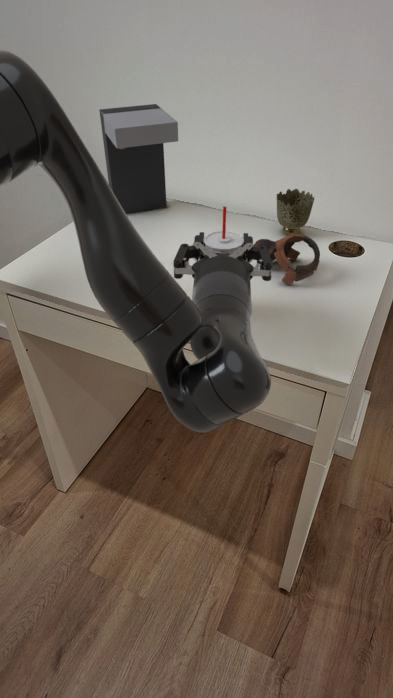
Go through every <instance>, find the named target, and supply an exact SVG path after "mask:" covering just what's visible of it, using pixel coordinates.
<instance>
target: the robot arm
mask: <svg viewBox="0 0 393 698" xmlns="http://www.w3.org/2000/svg"><path fill="white" fill-rule="evenodd" d="M37 166H39V167H40V168H41V169H42V170H43V171H44V173H46V174H47V175H48V176H49V178H50V179H51V180H52V181H53V183H54V184H55V185H56V186H57V188H58V190H59V192H60V193H61V195H62V196H63V198H64V200H65V202H66V205H67V206H68V209H69V212H70V215H71V218H72V222H73V225H74V228H75V232H76V236H77V241H78V245H79V251H80V255H81V256H80V257H81V260H82V265H83V268H84V273H85V277H86V279H87V283H88V285H89V287H90V290H91V292H92V294H93V296H94V298H95V300H96V301H97V302H98V304H99V306H100V307H101V308H102V309H103V311H104V312H105V314H107V316H108V317H109V318H110V319H111V320H112V321H113V323H115V325H116V326H117V327H118V328H119V329H120V330H121V332H122V333H123V334H124V335H125V336H126V338H128V340H129V341H130V342H131V343H132V344H133V345H134V347H135V348H137V350H138V351H139V352H140V353H141V355H142V357H143V359H144V361H145V363H146V365H147V367H148V368H149V371H150V373H151V375H152V377H153V378H154V380H155V382H156V384H157V386H158V388H159V389H160V392H161V394H162V397H163V398H164V401H165V403H166V405H167V407H168V410H169V411H170V412H171V414H172V416H173V417H174V418H175V419H176V420H177V421H178V423H179V424H180V425H181V426H184V427H185V428H187V429H188V430H190V431H192V432H195V433H199V434H208V433H211V432H214V431H216V430H217V429H219V428H221V427H223V426H224V425H227V424H229V423H230V422H232V421H233V420H235V419H237V418H239V417H241V416H243V415H245V414H247V413H249V412H250V411H252V410H254V409H256V408H258V407H259V406H260V405H262V404H263V402H265V400H266V399H267V397H268V395H269V393H270V391H271V385H272V376H271V373H270V371H269V368H268V366H267V364H266V363H265V360H264V359H263V358H262V356H261V354H260V353H259V350H258V349H257V345H256V343H255V341H254V338H253V336H252V328H251V327H252V326H251V325H252V324H251V316H252V310H253V309H252V306H253V304H252V303H253V302H252V286H251V285H252V284H251V280H252V279H253V277H261V278H262V280H263V281H264V282H270V281H271V280H272V274H273V265H274V264H273V262H272V261H271V258H270V255H269V253H268V250H267V248H266V246H264V245H260V246H258V248H257V247H254V244H255V243H254V238H253V236H252V235H249V233H248V232H243V236H242V237H243V238H244V244H243V247H239V248H238V249H237V250H236V251H235V252H234V253H225V254H222V253H213V252H212V251H211V250H210V249H209V248H208V247H207V246H205V247H204V243H203V239H204V237H205V232H204V231H199V234H196V235H195V236H194V241H193V243H192V245H190V244H188V243H182V244H180V246H179V248H178V250H177V252H176V255H175V257H174V259H173V261H172V265H173V276H172V274H170V272H169V271H168V270H167V268H166V267H165V266H164V264H163V263H162V262H161V260H159V259H158V257H157V256H156V255H155V254H154V252H153V251H152V250H151V248H150V247H149V246H148V245H147V243H146V242H145V240H144V239H143V237H142V236H141V234H140V233H139V232H138V229H136V227H135V226H134V224H133V223H132V220H131V219H130V218H129V216H128V215H127V214H126V213H125V211H124V210H123V208H122V206H121V205H120V203H119V201H118V200H117V198H116V196H115V195H114V193H113V191H112V189H111V188H110V186H109V182H108V180H107V179H106V177H105V176H104V174H103V172H102V171H101V169H100V167H99V165H98V164H97V162H96V161H95V159H94V158H93V156H92V154H91V152H90V151H89V149H88V148H87V146H86V145H85V142H83V139H82V138H81V137H80V134H79V132H77V130H76V128H75V126H74V125H73V123H72V122H71V120H70V119H69V117H68V116H67V114H66V112H65V111H64V108H63V107H62V106H61V104H60V103H59V101H58V99H57V97H56V96H55V95H54V94H53V92H52V91H51V89H50V88H49V86H48V85H47V84H46V82H45V81H44V80H43V79H42V77H41V76H40V75H39V74H38V73H37V72H36V71H35V70H34V68H33V67H32V66H30V64H29V63H27V62H26V61H25V60H24V59H23V58H22V57H20V56H19V55H17V54H15V53H13V52H11V51H9V50H3V49H0V188H2V187H4V186H6V185H7V184H9V183H10V182H12V181H13V180H15V179H17V178H18V177H20V176H21V175H23V174H25V173H26V172H29V170H31V169H34V168H35V167H37ZM190 259H193V261H194V263H193V264H192V265H191V264H190V262H189V261H190ZM253 260H254V261H256V265H255V266H253V265H252V262H253ZM184 275H189V276H191V277H192V278H193V285H192V295H191V296H192V297H189V296H188V295H187V293H186V292H185V290H184V289H183V288H182V287H181V285H180V284H179V283H178V282H177V280H179V279H182V278H183V277H184ZM176 279H177V280H176ZM188 343H189V345H190V349H191V351H192V354H193V355H194V357H195V359H197V360H195V361H194V362H193V363H190V362H189V361H188V360H187V358H186V356H185V352H184V347H186V346H187V345H188Z"/></svg>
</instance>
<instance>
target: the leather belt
mask: <svg viewBox="0 0 393 698" xmlns="http://www.w3.org/2000/svg"><path fill="white" fill-rule="evenodd" d="M300 242H303V243H305V244H307V245H308V247H309V248H310V249H312V251H313V254H314V258H313V259H312V261H311V262H310V263H308V264H305V265H304V264H303V265H300V264H296V266H295V268H293V267H291V264H292V261H297V259H298V257H299V256H300V254H301V252H300V251H298V250H296V249H295V248H293V246H294V245H295V244H296V243H300ZM253 244H254V247H257V248H258V246H260V245H264V246H266V248H267V250H268V253H269V255H270V258H271V261H272V263H273V262H274V261H276V262H277V263H278V265H279V266H280V268H281V269H282V270H283V271H284V272H285V273H284V276H283V277H282V278H281V283H283V284H285V285H286V286H290V285H291V284H294V282H299V281H300V282H301V281H303V280H305V279H308V278H309V277H311V276H313V275H314V273H315V271H317V269H318V267H319V264H320V258H321V251H320V248H319V245H318V244H317V242H316V241H315V240H313V238H311V237H309V236H307V235H304V234H301V233H298V234H291V235H286V236H284V237H281V238H279V239H278V240H275V241H274V240H271V239H268V238H259V239H257V240H256V241H255V242H254V243H253ZM291 260H292V261H291Z"/></svg>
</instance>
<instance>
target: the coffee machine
mask: <svg viewBox="0 0 393 698" xmlns="http://www.w3.org/2000/svg"><path fill="white" fill-rule="evenodd" d="M98 111H99V117H100V126H101V134H102V142H103V149H104V156H105V165H106V173H107V183H108V184H109V186H110V188H111V189H112V191H113V193H114V195H115V196H116V198H117V200H118V201H119V203H120V205H121V206H122V208H123V210H124V211H125V213H126V215H127V214H133V213H140V212H145V211H152V210H158V209H159V210H160V209H164V208H167V207H168V206H167V205H168V204H167V189H166V187H167V186H166V166H165V148H164V144H167V143H176V142H177V143H178V142H179V123H178V121H177V120H176V119H175V118H174V117H172V115H170V114H169V113H168V112H167V111H166V110H164V108H162V107H160V106H159V105H158V103H153V104H152V103H150V104H142V105H131V106H119V107H111V108H99V110H98Z"/></svg>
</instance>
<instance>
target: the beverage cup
mask: <svg viewBox="0 0 393 698" xmlns="http://www.w3.org/2000/svg"><path fill="white" fill-rule="evenodd" d="M226 229H227V206H223V207H222V229H221V230H214V231H211V232H208V233H207V234H204V239H203V243H204V247H205V246H207V247H208V248H209V249H210V250H211V251H212V252H213V253H222V254H225V253H234V252H235V251H236V250H237V249H238V248H239V247H243V244H244V238H243V236H242V235H241V234H240V233H238V232H235V231H231V230H226Z"/></svg>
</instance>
